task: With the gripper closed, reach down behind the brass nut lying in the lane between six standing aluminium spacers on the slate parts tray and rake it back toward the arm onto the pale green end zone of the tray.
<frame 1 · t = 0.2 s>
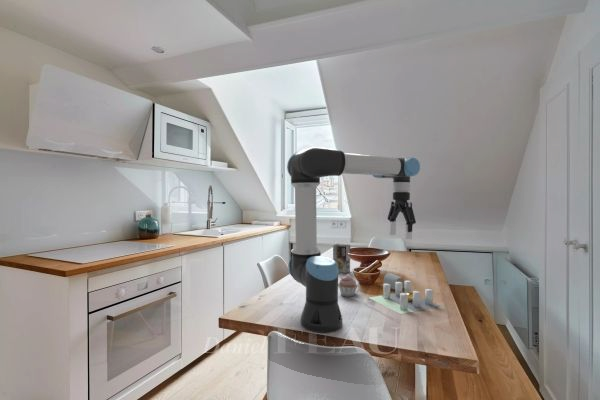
hand: (400, 237, 140), 27 cm above the table, tool pointing down, fingers open, 13 cm apart
ceramic mug: (395, 289, 149), on the table
cupcake: (347, 295, 140), on the table
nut: (410, 300, 131), point 1 cm above the table, touching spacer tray
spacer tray: (403, 303, 129), on the table
coffee box: (341, 271, 183), on the table
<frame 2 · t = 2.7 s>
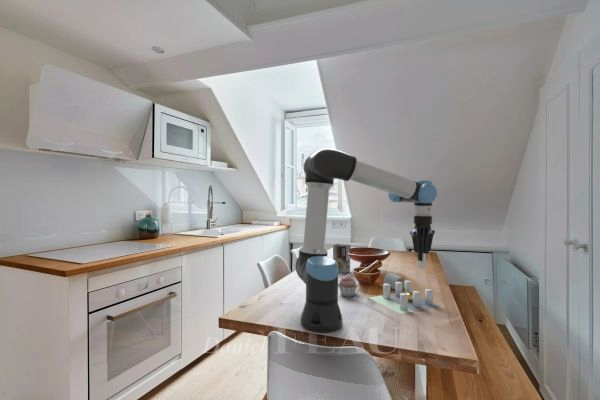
hand: (422, 267, 133), 15 cm above the table, tool pointing down, fingers closed
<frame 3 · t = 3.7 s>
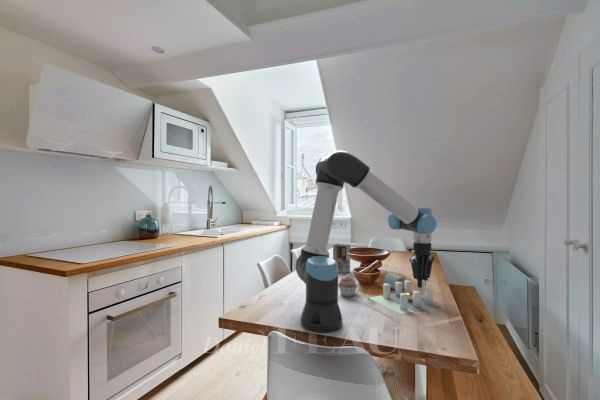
hand: (421, 294, 134), 3 cm above the table, tool pointing down, fingers closed
nothing on the table moved.
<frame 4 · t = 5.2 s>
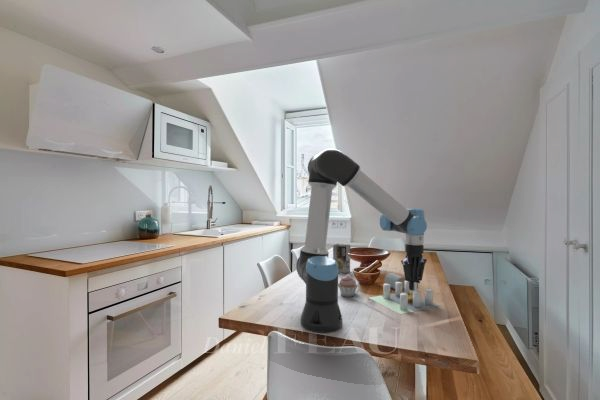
hand: (413, 296, 132), 2 cm above the table, tool pointing down, fingers closed
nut: (407, 300, 130), point 1 cm above the table, touching gripper, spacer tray
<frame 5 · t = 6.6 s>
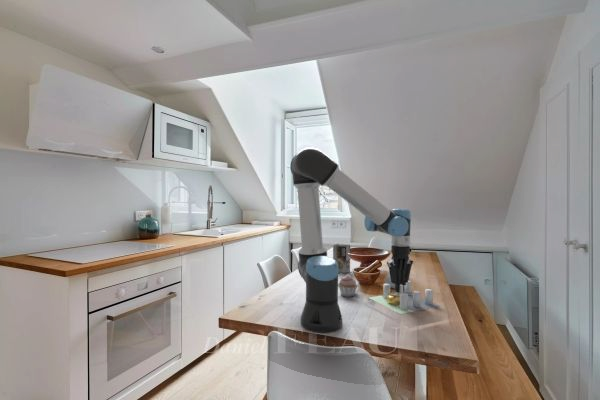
hand: (399, 299, 128), 2 cm above the table, tool pointing down, fingers closed
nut: (393, 303, 127), point 1 cm above the table, touching gripper
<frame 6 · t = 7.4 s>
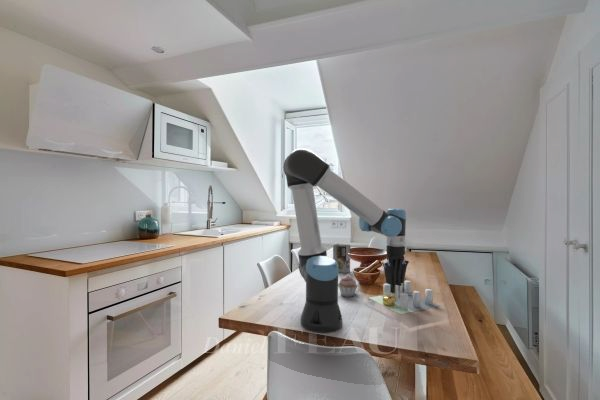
hand: (394, 300, 127), 2 cm above the table, tool pointing down, fingers closed
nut: (388, 304, 126), point 1 cm above the table, touching gripper, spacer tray
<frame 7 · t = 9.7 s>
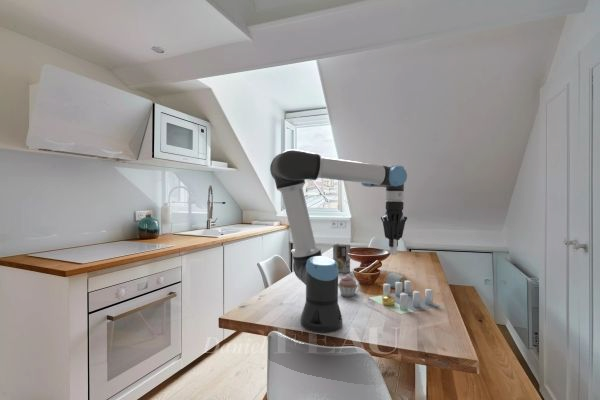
hand: (393, 254, 132), 21 cm above the table, tool pointing down, fingers closed
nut: (388, 304, 126), point 1 cm above the table, touching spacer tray
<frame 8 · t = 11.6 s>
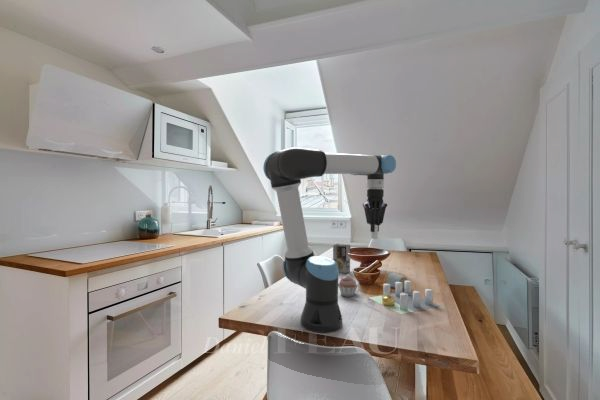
hand: (374, 238, 141), 26 cm above the table, tool pointing down, fingers closed
at the end: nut inside the target area (0.7 cm from its centre), point 1.0 cm above the table; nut moved 12.2 cm from its start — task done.
